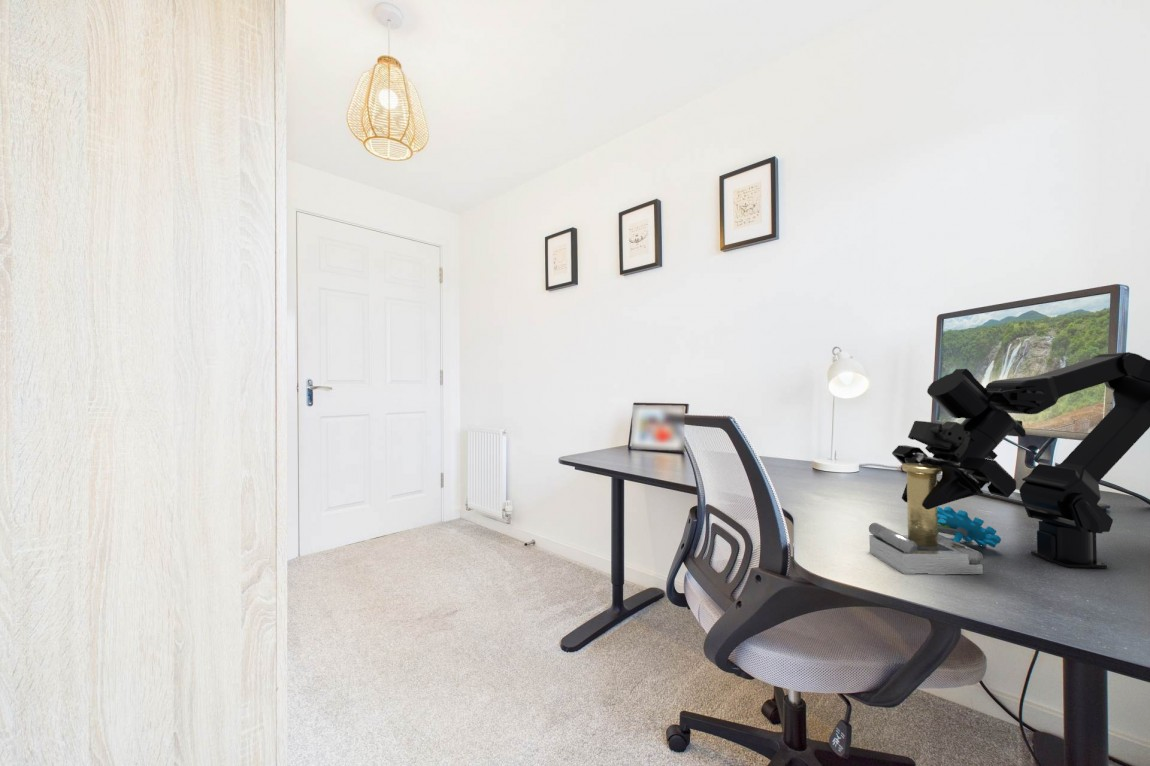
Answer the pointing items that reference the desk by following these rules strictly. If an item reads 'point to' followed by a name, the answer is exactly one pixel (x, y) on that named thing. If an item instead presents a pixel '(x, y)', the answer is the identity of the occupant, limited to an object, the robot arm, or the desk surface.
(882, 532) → the metal roller frame
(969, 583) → the desk surface
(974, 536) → the gear
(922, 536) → the pin
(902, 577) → the desk surface
